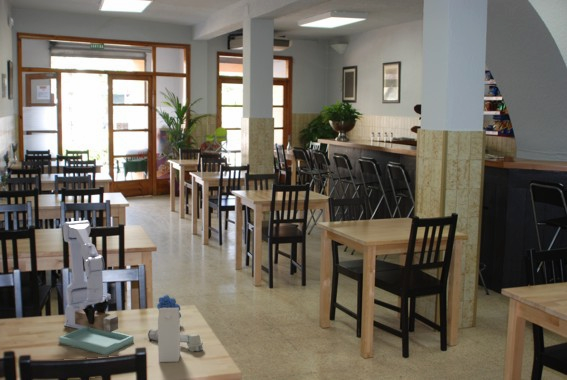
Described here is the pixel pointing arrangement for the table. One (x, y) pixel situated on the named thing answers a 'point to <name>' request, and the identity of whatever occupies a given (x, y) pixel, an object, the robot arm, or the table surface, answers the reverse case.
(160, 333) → the milk carton
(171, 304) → the grapes
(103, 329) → the walnut strut
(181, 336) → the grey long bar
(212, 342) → the table surface
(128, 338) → the tray
